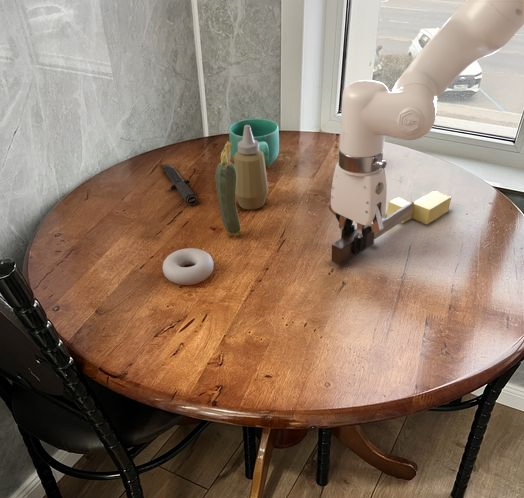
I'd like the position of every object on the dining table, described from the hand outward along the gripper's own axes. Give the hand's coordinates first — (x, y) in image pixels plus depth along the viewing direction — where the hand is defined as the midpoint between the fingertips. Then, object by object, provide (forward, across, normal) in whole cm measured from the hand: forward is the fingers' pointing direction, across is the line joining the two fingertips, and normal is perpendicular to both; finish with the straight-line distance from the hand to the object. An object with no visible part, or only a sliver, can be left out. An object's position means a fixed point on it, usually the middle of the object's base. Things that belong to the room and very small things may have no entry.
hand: (353, 248), depth 107 cm
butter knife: (+1, 0, -7) cm, 7 cm away
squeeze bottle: (+2, +31, 0) cm, 31 cm away
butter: (+2, -2, -24) cm, 24 cm away
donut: (+2, +19, +27) cm, 33 cm away
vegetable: (+2, +24, +12) cm, 27 cm away
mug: (+2, +45, -14) cm, 47 cm away
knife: (+2, +52, +6) cm, 52 cm away
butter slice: (+2, +2, -18) cm, 19 cm away
